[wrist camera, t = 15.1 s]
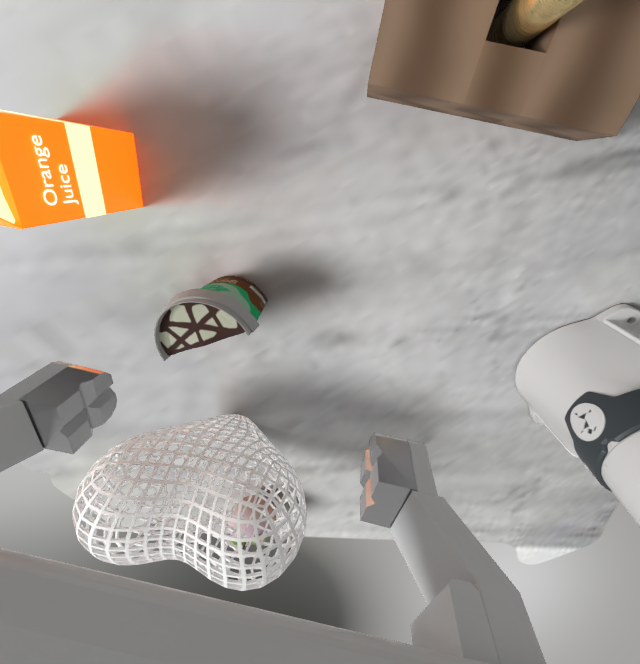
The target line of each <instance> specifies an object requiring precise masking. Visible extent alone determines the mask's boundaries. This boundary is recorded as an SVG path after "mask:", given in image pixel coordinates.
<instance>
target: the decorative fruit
mask: <svg viewBox="0 0 640 664" xmlns="http://www.w3.org/2000/svg"><path fill="white" fill-rule="evenodd" d="M249 497H250V496H248V497H244V498H243V501H248V499H249ZM263 497H264V496H263ZM254 498H255V495H253V496H252V498H251V500H250V502H251V503H253V501H254ZM259 498H260V497H257V500H256V504H257V502H258V500H259ZM265 498H266V497H265ZM266 499H267V498H266ZM265 503H266V501H264V500H263V499H261V501H260V503H259V504H261V505H264V504H265ZM238 505H239V503H238ZM238 505H237V507H236V509H235V511H234V513H236V514H238ZM234 506H235V505H234ZM244 507H245V505H242V507H241V514H242V512H243V510H244ZM233 508H234V507H233ZM233 508H232V510H233ZM257 508H258V509H260V510H261V511H263V510H264V508H261V507H257ZM232 510H231V512H232ZM267 510H268V512H269V514H271V513H272V512H273V511H274V509H273V508H272V507H271V506H270V505H269V506H268V507H267ZM251 514H252V508H249V507H247V508H246V510H245V512H244V515H243V517H244V518H246V519H248V520H249V518H250V516H251ZM260 515H261V513H259V512H258V511H256V510H255V517H256V519H259V517H260ZM229 517H230V514H229ZM232 518H236V519H237V517H235V516H233V515H232ZM262 518H265V516H264V515H263V516H262ZM272 519H273V520H274V521H276V514H275V515H274V516H273V517H272ZM251 520H253V517H252V519H251ZM266 523H267V521H263V522H260V523H259V525H260V526H262V527H264V528H265V526H266ZM236 524H237V523H235V522H231V521H229V523H228V525H229V526H231V527H233V528H235V526H236ZM256 524H257V523H256ZM273 524H274V523H273ZM246 525H247V524H242V523H240V529H241V533H243V531H244V529H245V527H246ZM267 529H270V530H271V527H270V524H268V527H267ZM228 530H229V529H228ZM236 530H237V529H236ZM257 530H258V535H259V536H260V535H262V534H263V531H264V530H262V529H260V528H257ZM253 531H254V527H253V525H251V524H249V525H248V527H247V530H246V532H245V535H247V536H249V537H251V536H252V534H253ZM229 532H230V534H232V532H233V531H231V530H229ZM266 533H267V531H266ZM233 536H234V537H237V534H236V533H234V535H233ZM254 537H255V535H254ZM268 537H269V536H268ZM268 537H266V538H264V539H263V542H264V541H265V540H267V538H268ZM230 542H231V543H232V544H234V545H236V546H237V542H235V541H230ZM241 543H242V545H243V548H242V549H243V550H244V547H245V546H246V545H248V543H249V542H241ZM251 544H255V545H257V544H256V543H255V542H251Z"/></svg>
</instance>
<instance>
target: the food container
mask: <svg viewBox="0 0 640 664" xmlns="http://www.w3.org/2000/svg"><path fill="white" fill-rule="evenodd" d="M266 302H267V299H266V297H265V296H264V294H263V293H262V292H261V291H260V290H259V289H258V288H257V287H256V286H255V285H254V284H252V283H251V282H249V281H247V280H246V279H243V278H239V277H235V276H224V277H220V278H218V279H216V280H214V281H212V282H211V283H209V284H207V285H205V286H204V287H202V288H200V289H192V290H187V291H184V292H181V293H179V294H177V295H176V296H174V297H173V298H172V299H170V301H169V302H168V303H167V304H166V306H165V307H164V308H163V310H162V311H161V313H160V315H159V316H158V319H157V322H156V326H155V334H154V336H155V343H156V346H157V349H158V352H159V354H160V356H161V357H162V359H163V360H164V361H165V360H166V359H167V358H168V357H170V356H171V355H173V354H176V353H179V352H182V351H185V350H189V349H192V348H197V347H201V346H205V345H208V344H211V343H214V342H216V341H219V340H222V339H225V338H228V337H231V336H234V335H238V334H241V333H244V332H246V333H247V335H248V336H249V335H250V333H251V332H253V331H254V330H255V329H256V328H257V327H258V326H259V324H258V322H257V320H258V318H259V316H260V314H261V312H262V310H263V308H264V306H265V304H266Z"/></svg>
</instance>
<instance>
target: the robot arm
mask: <svg viewBox="0 0 640 664" xmlns="http://www.w3.org/2000/svg"><path fill="white" fill-rule="evenodd" d="M629 318H630V319H629ZM628 319H629V320H628ZM515 382H516V387H517V389H518V392H519V393H520V395H521V396H522V397H523V398H524V399H525V400H526V402H527V403H528V404H529V410H530V415H531V417H532V418H533V419H534V421H535V422H536V423H538V424H544V425H546V426H547V427H548V429H549V430H550V431H551V432H552V433H553V434H554V435H555V437H556V438H557V439H558V440H559V441H560V442H561V443H562V444H563V446H564V447H565V448H566V449H567V450H568V451H569V452H570V453H571V454H572V455H573V456H575V457H577V458H579V457H580V459H581V460H582V461H583V463H584V465H585V467H586V468H587V469H588V471H589V472H590V473H591V474H592V475H593V476H594V477H595V478H596V479H597V480H598V481H599V482H600V484H601V485H602V486H604V487H605V488H606V489H608V490H609V491H611V492H613V493H614V495H615V496H616V497H617V498H618V500H619V501H620V502H621V504H622V505H623V506H624V507H625V508H626V510H627V511H628V513H629V514H630V515H631V516H632V518H633V519H634V520H635V521H636V523H637V524H638V525H639V527H640V310H638V309H636V308H634V307H632V306H629V305H627V304H619V305H616V306H613V307H611V308H609V309H607V310H605V311H604V312H602V313H600V314H598V315H597V316H595V317H593V318H590V319H587V320H584V321H580V322H576V323H573V324H569V325H566V326H564V327H561V328H559V329H557V330H554V331H552V332H551V333H549V334H547V335H545V336H544V337H542V338H541V339H540V340H538V341H537V342H536V343H535V344H534V345H532V346H531V347H530V348H529V349H528V351H527V352H526V353H525V354H524V356H523V357H522V359H521V360H520V362H519V364H518V367H517V370H516V375H515ZM112 384H113V380H112V376H111V374H109V373H106V372H102V371H99V370H95V369H91V368H87V367H83V366H79V365H74V364H70V363H66V362H62V361H56V362H52V363H50V364H48V365H47V366H45V367H43V368H42V369H40V370H39V371H37V372H35V373H34V374H32V375H31V376H29V377H27V378H26V379H24V380H23V381H21V382H19V383H18V384H16V385H15V386H13V387H11V388H10V389H8V390H7V391H5V392H3V393H2V394H0V472H1V471H3V470H5V469H7V468H9V467H11V466H13V465H15V464H17V463H19V462H21V461H23V460H25V459H27V458H29V457H31V456H33V455H35V454H37V453H39V452H41V451H42V450H44V449H43V448H45V449H50V450H55V451H60V452H65V453H70V454H74V453H75V452H76V451H77V450H78V449H79V448H80V447H81V446H82V445H83V444H84V443H85V442H86V441H87V440H88V439H89V438H90V437H91V436H92V433H93V428H96V427H98V426H100V425H103V424H104V423H105V422H106V421H107V420H108V419H109V418H110V417H111V416H112V414H113V412H114V410H115V408H116V403H117V398H116V394H115V393H114V391H113V390H112V389H111V388H110V386H111V385H112ZM369 444H370V449H368V450H366V451H365V454H364V457H363V460H362V465H361V474H360V483H361V485H362V486H363V488H364V490H363V492H362V494H361V497H360V521H364V522H368V523H372V524H376V525H380V526H383V527H387V528H390V532H391V534H392V536H393V538H394V540H395V541H396V544H397V546H398V548H399V550H400V551H401V553H402V555H403V557H404V559H405V561H406V563H407V565H408V567H409V569H410V571H411V573H412V575H413V577H414V579H415V581H416V583H417V585H418V587H419V589H420V591H421V593H422V595H423V597H424V599H425V601H426V603H427V605H428V606H427V607H426V608H425V610H424V611H423V612H422V613H421V614H420V615H419V616H418V617H417V618H416V619H415V620H414V622H413V623H412V624H411V633H412V642H413V645H409V644H405V643H401V642H397V641H393V640H388V639H384V638H380V637H376V636H371V635H367V634H363V633H359V632H354V631H350V630H346V629H342V628H338V627H333V626H329V625H325V624H321V623H317V622H312V621H308V620H304V619H300V618H295V617H291V616H287V615H283V614H278V613H274V612H270V611H266V610H261V609H257V608H253V607H249V606H245V605H241V604H236V603H232V602H227V601H224V600H219V599H215V598H211V597H207V596H203V595H198V594H194V593H190V592H186V591H181V590H177V589H173V588H169V587H165V586H160V585H156V584H151V583H148V582H143V581H139V580H134V579H131V578H127V577H122V576H118V575H114V574H109V573H105V572H101V571H97V570H93V569H88V568H84V567H80V566H76V565H72V564H67V563H63V562H59V561H55V560H50V559H46V558H42V557H38V556H34V555H29V554H25V553H20V552H17V551H12V550H8V549H3V548H0V664H546V662H545V659H544V657H543V654H542V652H541V649H540V646H539V643H538V641H537V638H536V635H535V633H534V630H533V628H532V624H531V622H530V620H529V616H528V614H527V611H526V608H525V606H524V603H523V600H522V598H521V595H520V593H519V591H518V590H517V589H516V587H515V586H514V585H513V584H512V582H511V581H510V580H509V579H508V577H507V576H506V575H505V574H504V572H503V571H502V570H501V569H500V567H499V566H498V565H497V564H496V562H494V560H493V559H492V558H491V556H490V555H489V554H488V553H487V551H486V550H485V549H484V548H483V546H482V545H481V544H480V543H479V541H478V540H477V539H476V538H475V536H474V535H473V534H472V533H471V531H470V530H469V529H468V528H467V526H466V525H465V524H464V523H463V521H462V520H461V519H460V518H459V516H458V515H457V514H456V513H455V511H454V510H453V509H452V508H451V506H450V505H449V504H448V503H447V502H446V500H445V499H444V498H443V497H440V496H438V494H437V490H436V486H435V482H434V478H433V474H432V470H431V465H430V461H429V457H428V453H427V449H426V446H425V445H424V443H419V442H415V441H410V440H405V439H401V438H396V437H392V436H387V435H383V434H378V433H373V434H372V436H371V438H370V441H369Z"/></svg>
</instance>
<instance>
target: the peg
mask: <svg viewBox="0 0 640 664" xmlns="http://www.w3.org/2000/svg"><path fill="white" fill-rule="evenodd" d="M582 1H583V0H512V1H511V2H510V3H509V4H508V5H507V6H506V8H505V9H504V10H503V11H502V12H501V13H500V14H499V15H498V16H497V18H496V19H495V20H494V21H493V22H492V24H491V25H490V28H489V31H488V34H487V37H486V41H490V42H495V43H500V44H504V45H509V46H514V47H519V48H521V47H522V46H523V45H525V44H526V43H527V42H529V41H530V40H531V39H533V38H534V37H535V36H537V35H538V34H539V33H541V32H542V31H543V30H545V29H546V28H547V27H549V26H550V25H551V24H553V23H554V22H555V21H557V20H558V19H559V18H561V17H562V16H563V15H565V14H566V13H567V12H569V11H570V10H571V9H573V8H574V7H575V6H577V5H578V4H579V3H581V2H582Z"/></svg>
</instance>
